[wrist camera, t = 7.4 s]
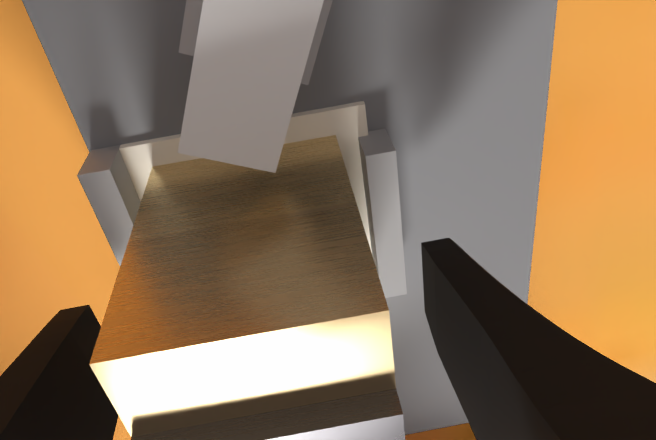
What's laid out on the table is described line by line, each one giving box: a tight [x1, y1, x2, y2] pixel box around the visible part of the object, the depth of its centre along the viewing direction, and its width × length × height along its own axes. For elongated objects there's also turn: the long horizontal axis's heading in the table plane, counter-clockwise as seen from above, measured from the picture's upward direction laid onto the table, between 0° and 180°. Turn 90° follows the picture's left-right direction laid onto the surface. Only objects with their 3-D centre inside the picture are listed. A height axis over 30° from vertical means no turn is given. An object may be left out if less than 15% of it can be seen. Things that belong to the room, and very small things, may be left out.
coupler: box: [89, 135, 405, 440], centre depth 11 cm, size 4×4×6 cm
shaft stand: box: [22, 0, 557, 435], centre depth 14 cm, size 19×11×4 cm, turn 8°
